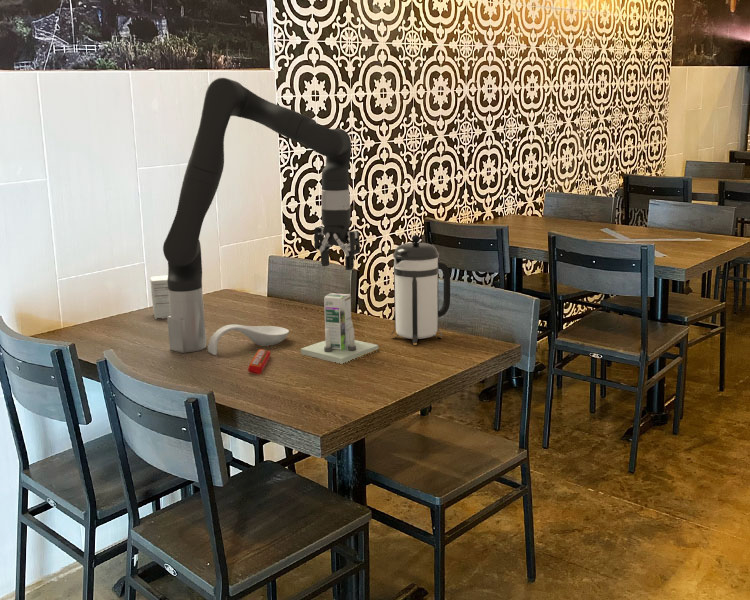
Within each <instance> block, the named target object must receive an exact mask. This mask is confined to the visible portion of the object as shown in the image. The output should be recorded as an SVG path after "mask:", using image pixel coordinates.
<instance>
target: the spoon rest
mask: <svg viewBox="0 0 750 600" xmlns="http://www.w3.org/2000/svg"><path fill="white" fill-rule="evenodd" d="M231 331H236V332H240V333H241V334H243V335H244V336H246V337H247V338H248V339H249V340H251V341H252V342H253V343H255V344H256V345H257V346H260V345H261V347H269V345H271V346H274V345H275V346H276V345H278V344H280V343H281V342H282V341H284V340H285V339H287V336H289V333H290V330H289V329H287V328H284V327H280V326H274V325H256V326H253V325H251V326H250V325H243V324H236V323H235V324H227V325H224V326H222V327H220V328H219V329H217V330H216V331H214V333H213V334H212V336H211V337H210V339H209V341H208V346H207V352H208V353H210V354H211V355H212V356H217V355H218V343H219V342H220V340H221V338H222V337H223V335H225V334H227V333H229V332H231Z"/></svg>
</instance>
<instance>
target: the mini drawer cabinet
mask: <svg viewBox="0 0 750 600" xmlns="http://www.w3.org/2000/svg"><path fill="white" fill-rule="evenodd" d="M149 279H150V281H149V282H150V290H151V291H150V292H151V301H152V311H153V312H152V314H153V315H154V316H153V317H154V320H158V319H157V318H162V319H167V317H168V316H170V306H169V294H168V283H167V280H168V274H167V275H157V276H156V275H154V276H150V278H149Z"/></svg>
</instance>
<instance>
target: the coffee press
mask: <svg viewBox="0 0 750 600" xmlns="http://www.w3.org/2000/svg"><path fill="white" fill-rule="evenodd" d="M411 240H412V242H407V243H403V244H400V245H398V246H397V247H396V248H395V251H394V252H393V253H392V257H393V260H394V261H393V290H394V291H393V293H394V295H393V298H394V299H393V300H394V301H393V302H394V304H393V305H394V306H393V307H394V330H393V331H392V333H391V335H393V334H394V333H395V332H396V333H397V335H396V336H397V337H399V336H400V337H402V338H406V339H411V340H412V344H413V343H417V341H418V342H419V339H420V340H422V339H428V338H431V337H435V336H436V334H437V332H438V333H439V334H440V335H441V337H442V336H443V337H444V335H443V333H442V332H441V330H440V327H439V325H440V319H439V318H441V317H443V316H444V315H446V313H447V312H448V310H449V308H450V304H451V274H450V269H449V267H448V266H447V264H445V263H443V262H439V261H438V260H439V257H440V253H439V252H438V250H437V248H436V246H435V245H433V244H430V243H426V242H420V240H421V237H420V236H419V235H417V234H414V235H412V238H411ZM439 270H440V271H441V272H442V274H443V275H442V277H443V303H442V307H441V308H439V302H440V301H439V298H440V296H439V284H440V283H439V280H440V279H439ZM439 309H440V310H439ZM391 335H390V336H391Z"/></svg>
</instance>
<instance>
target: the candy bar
mask: <svg viewBox="0 0 750 600" xmlns="http://www.w3.org/2000/svg"><path fill="white" fill-rule="evenodd" d="M270 357H271V351H270V350H267V349H263V348H262V349H261V348H259V349H258V350H257V351H256V353H255V355H254V357H253V358H252V359H251V361H250V363H249V366H248V367H247V368H248V370H247V372H248V373H250V374H255V375H261V374H262V372H263V371H264V370H265V367H266V366H267V364H268V362H269V360H270Z"/></svg>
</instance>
